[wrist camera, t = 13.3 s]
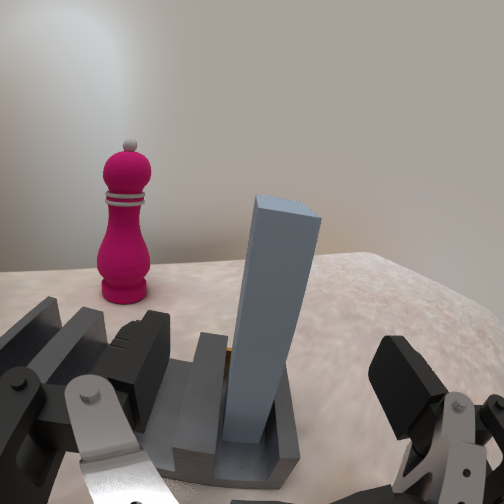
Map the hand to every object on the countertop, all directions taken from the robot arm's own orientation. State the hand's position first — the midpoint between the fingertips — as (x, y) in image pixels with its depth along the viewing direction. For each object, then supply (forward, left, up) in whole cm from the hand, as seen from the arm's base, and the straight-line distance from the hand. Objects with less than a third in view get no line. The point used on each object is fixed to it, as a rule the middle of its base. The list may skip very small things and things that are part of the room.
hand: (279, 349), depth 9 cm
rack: (-8, +5, -12) cm, 15 cm away
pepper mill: (-16, +23, -12) cm, 31 cm away
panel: (0, +5, -11) cm, 12 cm away
